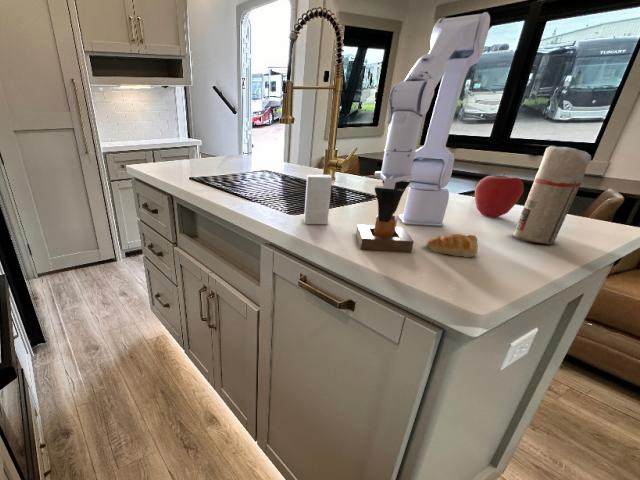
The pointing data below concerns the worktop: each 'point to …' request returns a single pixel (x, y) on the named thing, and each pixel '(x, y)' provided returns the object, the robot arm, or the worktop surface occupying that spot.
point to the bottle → (385, 227)
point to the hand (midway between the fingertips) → (386, 217)
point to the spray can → (552, 194)
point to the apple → (497, 194)
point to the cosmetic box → (317, 199)
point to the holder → (384, 240)
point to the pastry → (454, 245)
